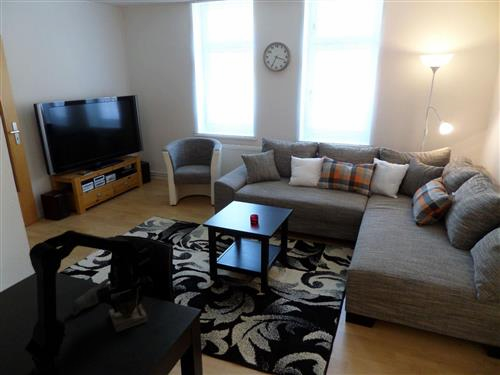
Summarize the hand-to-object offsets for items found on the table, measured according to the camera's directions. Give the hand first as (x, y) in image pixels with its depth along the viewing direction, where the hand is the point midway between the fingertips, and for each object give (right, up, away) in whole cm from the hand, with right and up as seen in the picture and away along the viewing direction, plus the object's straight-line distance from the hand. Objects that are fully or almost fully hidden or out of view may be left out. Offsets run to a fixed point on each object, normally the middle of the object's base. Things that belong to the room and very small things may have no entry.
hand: (127, 308), depth 125 cm
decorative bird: (-17, -2, +9) cm, 19 cm away
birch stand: (0, -4, +1) cm, 4 cm away
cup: (0, -3, +1) cm, 3 cm away
